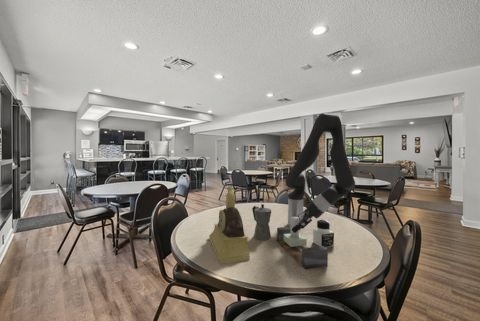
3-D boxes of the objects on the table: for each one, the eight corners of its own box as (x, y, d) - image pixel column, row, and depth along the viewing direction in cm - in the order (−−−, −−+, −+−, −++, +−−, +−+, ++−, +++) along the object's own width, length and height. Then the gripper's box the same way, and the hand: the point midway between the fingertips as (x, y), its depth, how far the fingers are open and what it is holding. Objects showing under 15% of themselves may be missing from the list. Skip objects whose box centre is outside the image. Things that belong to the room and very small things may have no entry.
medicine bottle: (321, 248, 103) (321, 223, 103) (312, 242, 110) (313, 219, 110) (334, 246, 105) (334, 222, 105) (324, 240, 112) (325, 218, 111)
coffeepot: (277, 239, 114) (277, 205, 114) (263, 243, 109) (263, 208, 108) (259, 230, 127) (259, 200, 126) (246, 233, 122) (246, 202, 121)
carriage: (283, 240, 106) (283, 216, 106) (298, 238, 108) (298, 215, 108) (290, 246, 98) (291, 221, 98) (306, 245, 100) (306, 219, 100)
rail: (277, 241, 111) (277, 227, 111) (294, 239, 114) (294, 226, 113) (305, 269, 84) (305, 251, 84) (327, 266, 86) (327, 249, 86)
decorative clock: (209, 238, 115) (209, 182, 114) (232, 236, 118) (232, 182, 118) (220, 264, 88) (220, 191, 87) (249, 260, 92) (250, 190, 91)
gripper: (311, 197, 108) (287, 218, 111) (314, 203, 94) (287, 227, 97) (322, 208, 106) (298, 229, 110) (326, 216, 93) (299, 239, 96)
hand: (293, 228), depth 103 cm, fingers open, 8 cm apart
